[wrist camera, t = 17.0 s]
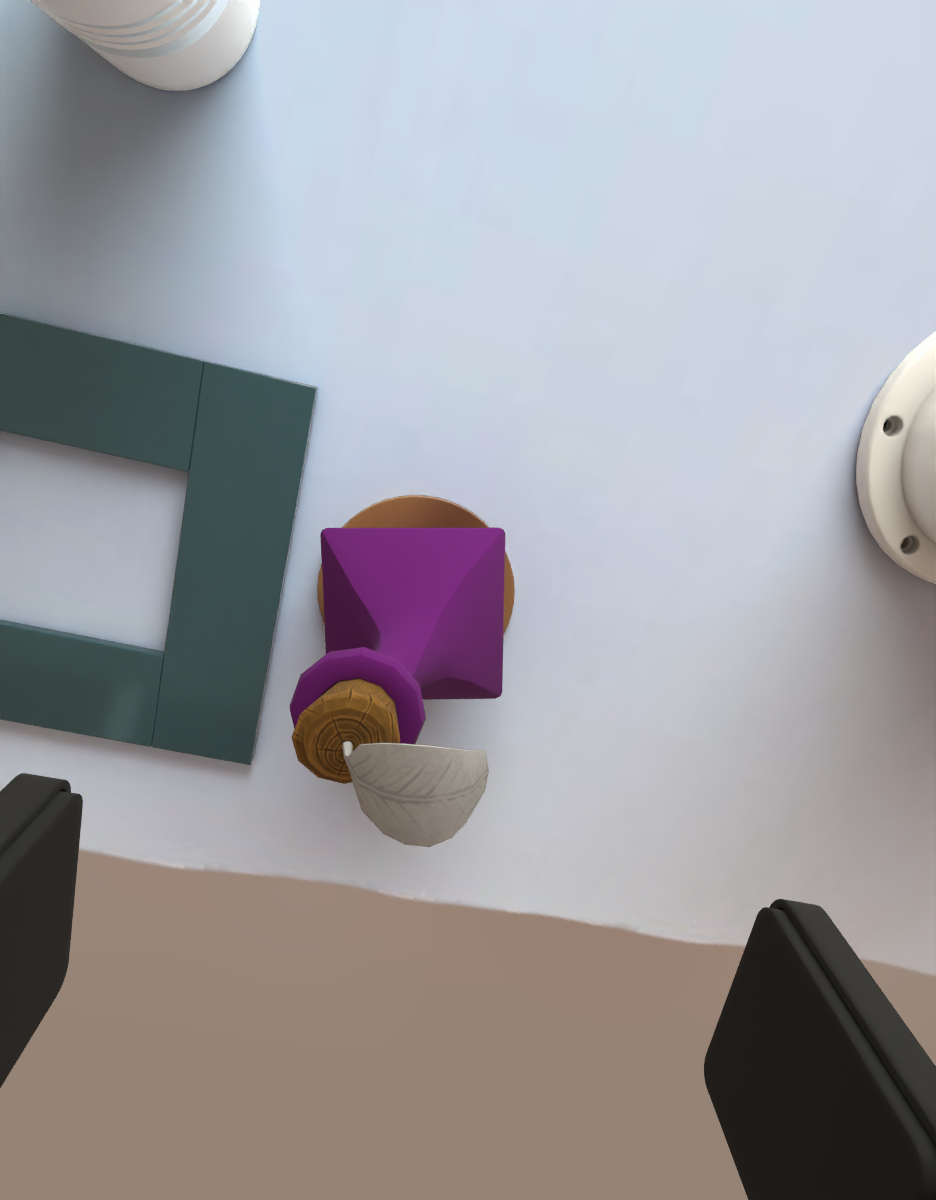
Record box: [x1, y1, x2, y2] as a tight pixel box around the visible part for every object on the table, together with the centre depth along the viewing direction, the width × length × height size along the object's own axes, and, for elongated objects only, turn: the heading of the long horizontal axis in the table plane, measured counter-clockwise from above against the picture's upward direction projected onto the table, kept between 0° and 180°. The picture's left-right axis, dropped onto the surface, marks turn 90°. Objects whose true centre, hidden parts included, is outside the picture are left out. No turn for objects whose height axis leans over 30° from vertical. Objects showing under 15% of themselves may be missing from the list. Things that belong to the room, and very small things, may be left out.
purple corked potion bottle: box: [290, 528, 505, 847], centre depth 27 cm, size 8×8×18 cm
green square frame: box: [0, 313, 318, 765], centre depth 35 cm, size 18×18×1 cm
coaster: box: [318, 495, 514, 634], centre depth 36 cm, size 9×9×1 cm
